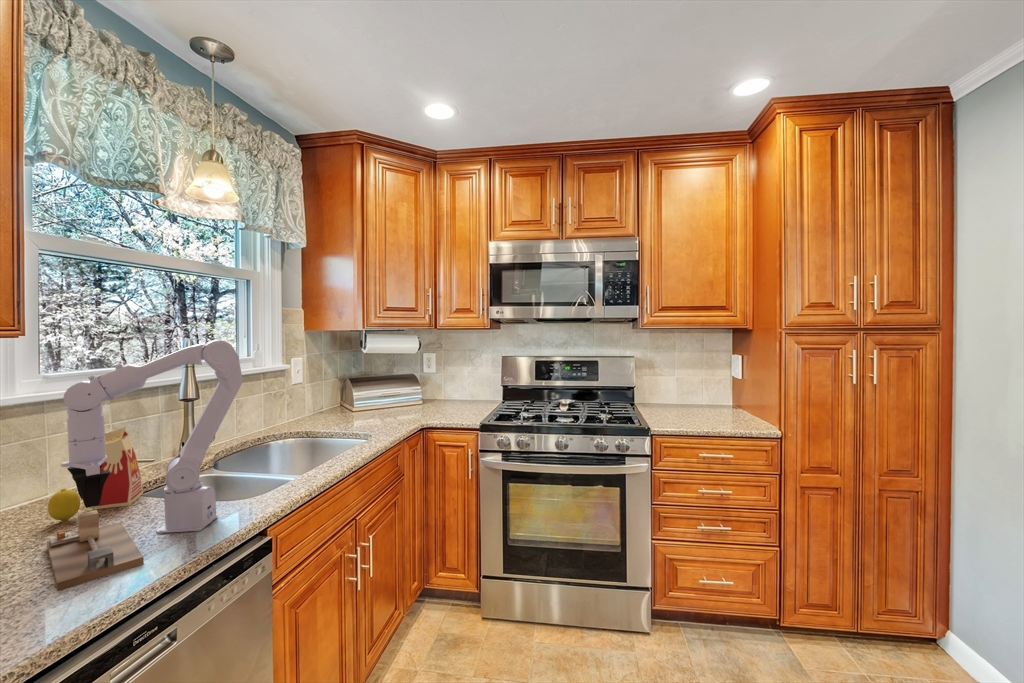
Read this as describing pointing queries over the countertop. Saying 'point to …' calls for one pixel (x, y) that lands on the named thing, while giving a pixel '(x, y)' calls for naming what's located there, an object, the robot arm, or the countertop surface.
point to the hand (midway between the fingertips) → (89, 501)
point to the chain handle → (83, 530)
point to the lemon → (64, 505)
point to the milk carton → (120, 471)
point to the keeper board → (78, 557)
